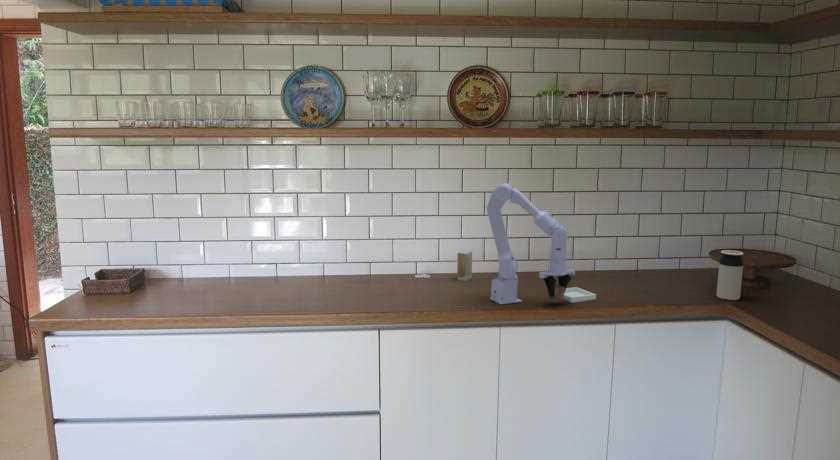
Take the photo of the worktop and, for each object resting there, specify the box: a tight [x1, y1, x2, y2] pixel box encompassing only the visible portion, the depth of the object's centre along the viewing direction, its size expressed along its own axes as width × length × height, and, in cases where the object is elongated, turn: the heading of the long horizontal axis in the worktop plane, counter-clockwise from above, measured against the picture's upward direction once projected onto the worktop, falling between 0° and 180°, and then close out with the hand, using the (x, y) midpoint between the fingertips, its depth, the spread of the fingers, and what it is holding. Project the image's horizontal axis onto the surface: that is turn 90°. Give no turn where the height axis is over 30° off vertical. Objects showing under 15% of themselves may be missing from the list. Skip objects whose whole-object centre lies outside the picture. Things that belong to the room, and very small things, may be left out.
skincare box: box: [456, 250, 473, 282], centre depth 239 cm, size 6×4×12 cm
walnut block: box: [547, 283, 565, 302], centre depth 203 cm, size 4×4×5 cm
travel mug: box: [716, 249, 744, 301], centre depth 212 cm, size 8×8×18 cm
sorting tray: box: [563, 286, 597, 304], centre depth 213 cm, size 12×12×2 cm
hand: (556, 295), depth 203 cm, fingers closed on walnut block, 4 cm apart
